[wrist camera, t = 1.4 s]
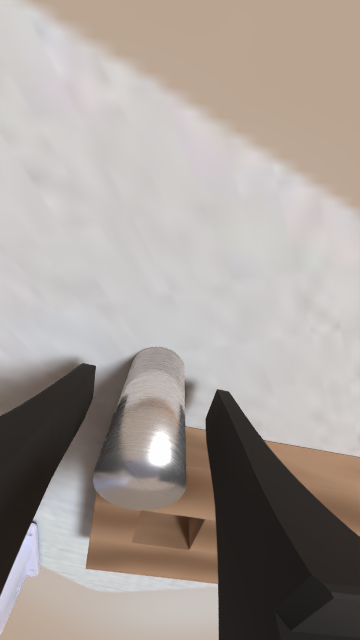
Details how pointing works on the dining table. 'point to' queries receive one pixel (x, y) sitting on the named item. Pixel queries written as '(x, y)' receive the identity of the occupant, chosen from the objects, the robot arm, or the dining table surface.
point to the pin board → (207, 515)
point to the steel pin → (146, 436)
